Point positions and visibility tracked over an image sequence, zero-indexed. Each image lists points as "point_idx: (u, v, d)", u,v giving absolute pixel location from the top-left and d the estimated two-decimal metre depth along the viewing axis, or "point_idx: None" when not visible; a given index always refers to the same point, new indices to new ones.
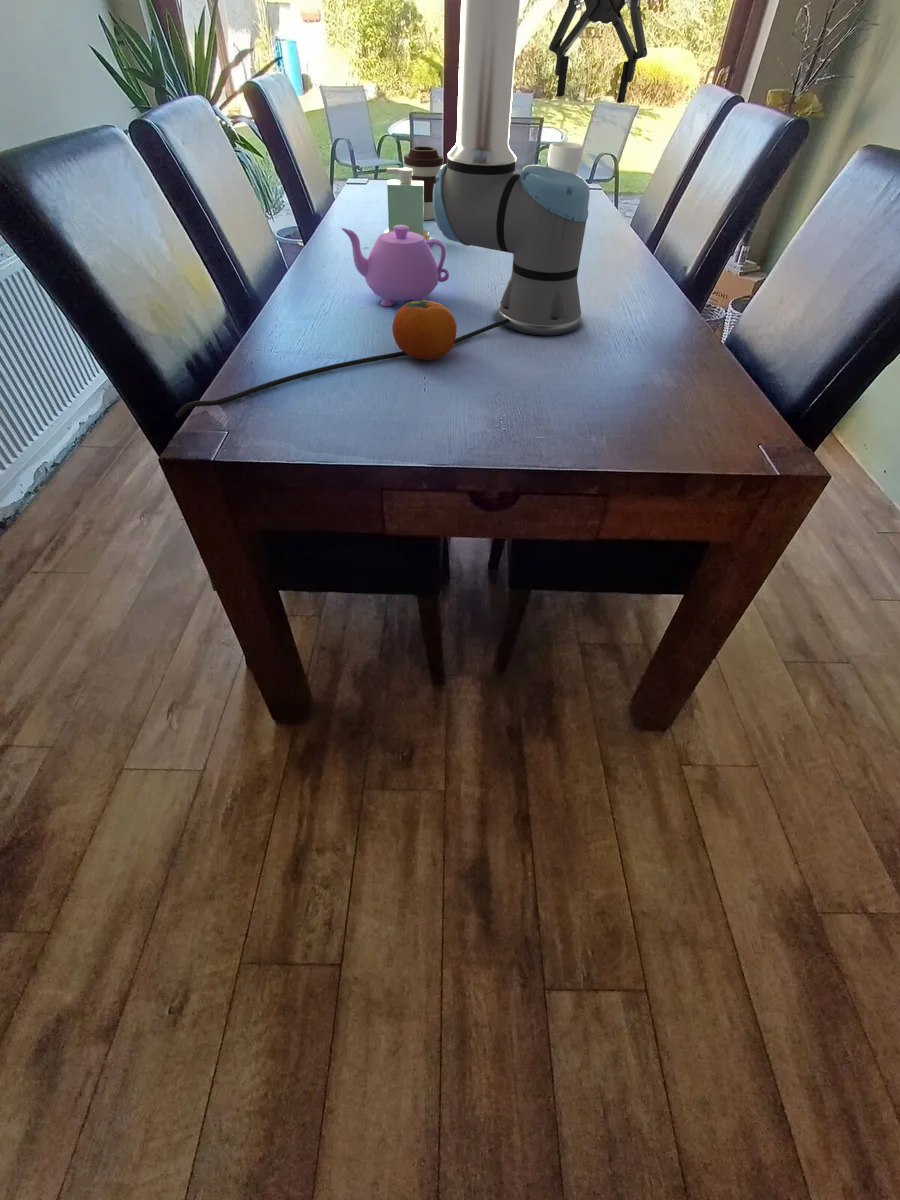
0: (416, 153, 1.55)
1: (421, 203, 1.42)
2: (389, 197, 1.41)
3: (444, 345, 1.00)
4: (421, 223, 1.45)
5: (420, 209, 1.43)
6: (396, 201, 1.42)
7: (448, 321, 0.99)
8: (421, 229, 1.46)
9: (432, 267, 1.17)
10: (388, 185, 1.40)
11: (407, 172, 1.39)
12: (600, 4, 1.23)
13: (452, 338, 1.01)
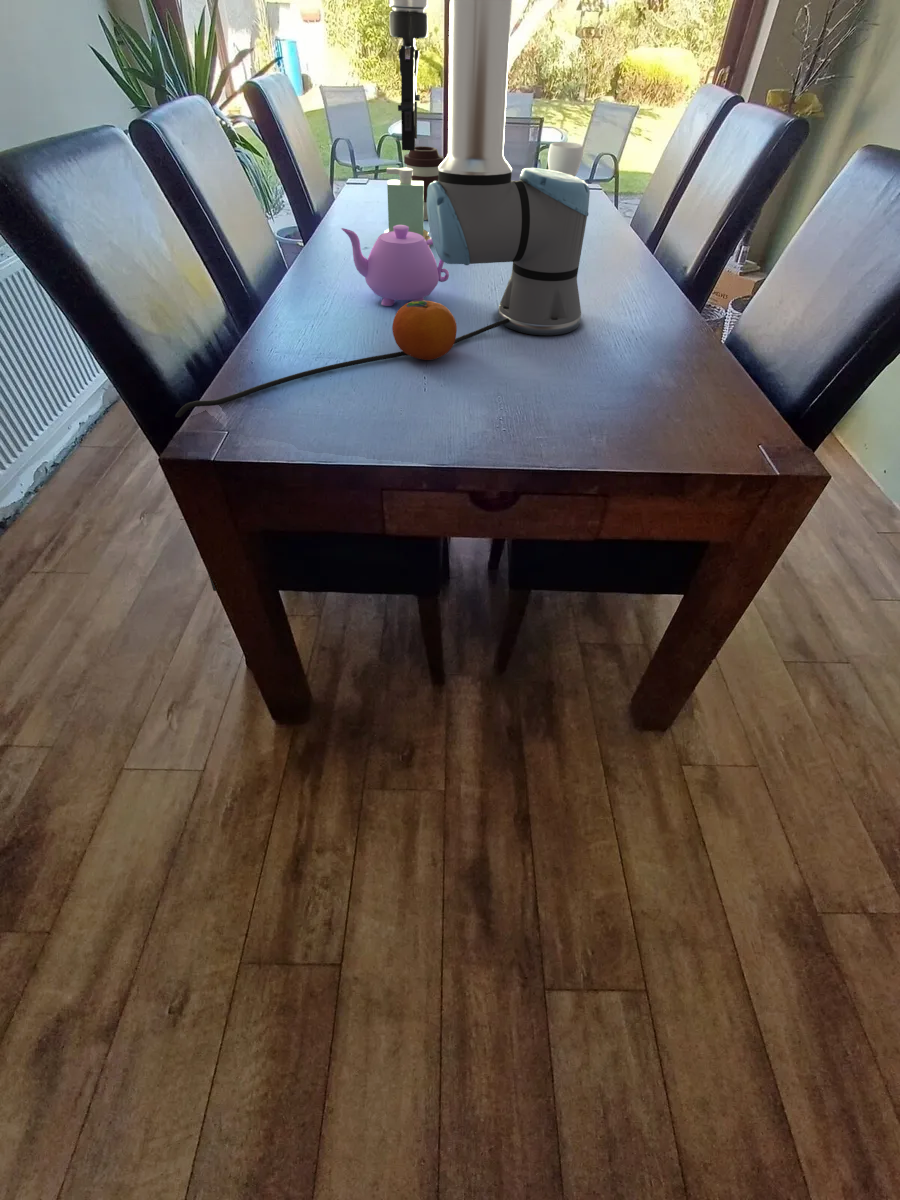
0: (416, 153, 1.55)
1: (421, 203, 1.42)
2: (389, 197, 1.41)
3: (444, 345, 1.00)
4: (421, 223, 1.45)
5: (420, 209, 1.43)
6: (396, 201, 1.42)
7: (448, 321, 0.99)
8: (421, 229, 1.46)
9: (432, 267, 1.17)
10: (388, 185, 1.40)
11: (407, 172, 1.39)
12: None
13: (452, 338, 1.01)
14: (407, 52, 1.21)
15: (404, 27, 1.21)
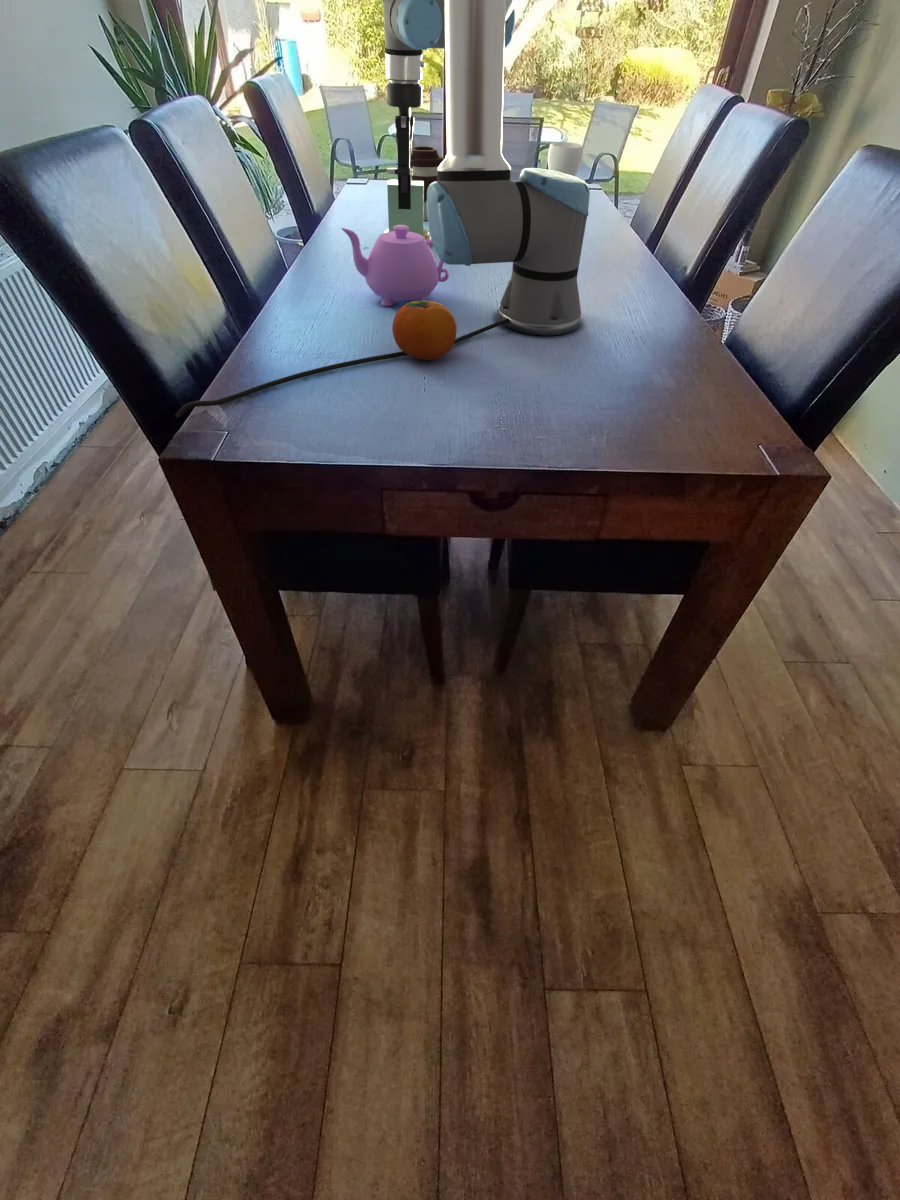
0: (416, 153, 1.55)
1: (421, 203, 1.42)
2: (389, 197, 1.41)
3: (444, 345, 1.00)
4: (421, 223, 1.45)
5: (420, 209, 1.43)
6: (396, 201, 1.42)
7: (448, 321, 0.99)
8: (421, 229, 1.46)
9: (432, 267, 1.17)
10: (388, 185, 1.40)
11: None
12: None
13: (452, 338, 1.01)
14: (403, 121, 1.28)
15: (400, 98, 1.28)
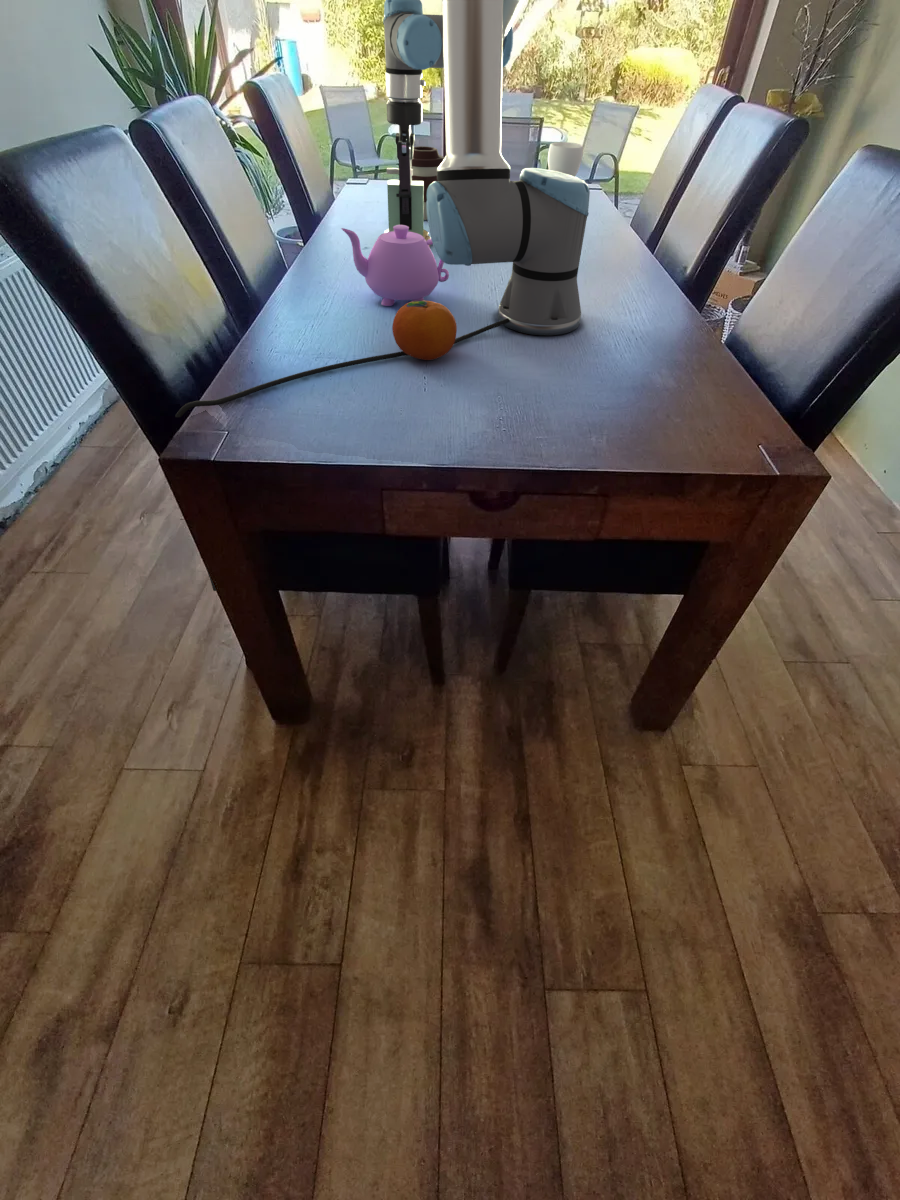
0: (416, 153, 1.55)
1: (421, 203, 1.42)
2: (389, 197, 1.41)
3: (444, 345, 1.00)
4: (421, 223, 1.45)
5: (420, 209, 1.43)
6: (396, 201, 1.42)
7: (448, 321, 0.99)
8: (421, 229, 1.46)
9: (432, 267, 1.17)
10: (388, 185, 1.40)
11: None
12: None
13: (452, 338, 1.01)
14: (403, 148, 1.32)
15: (400, 116, 1.30)
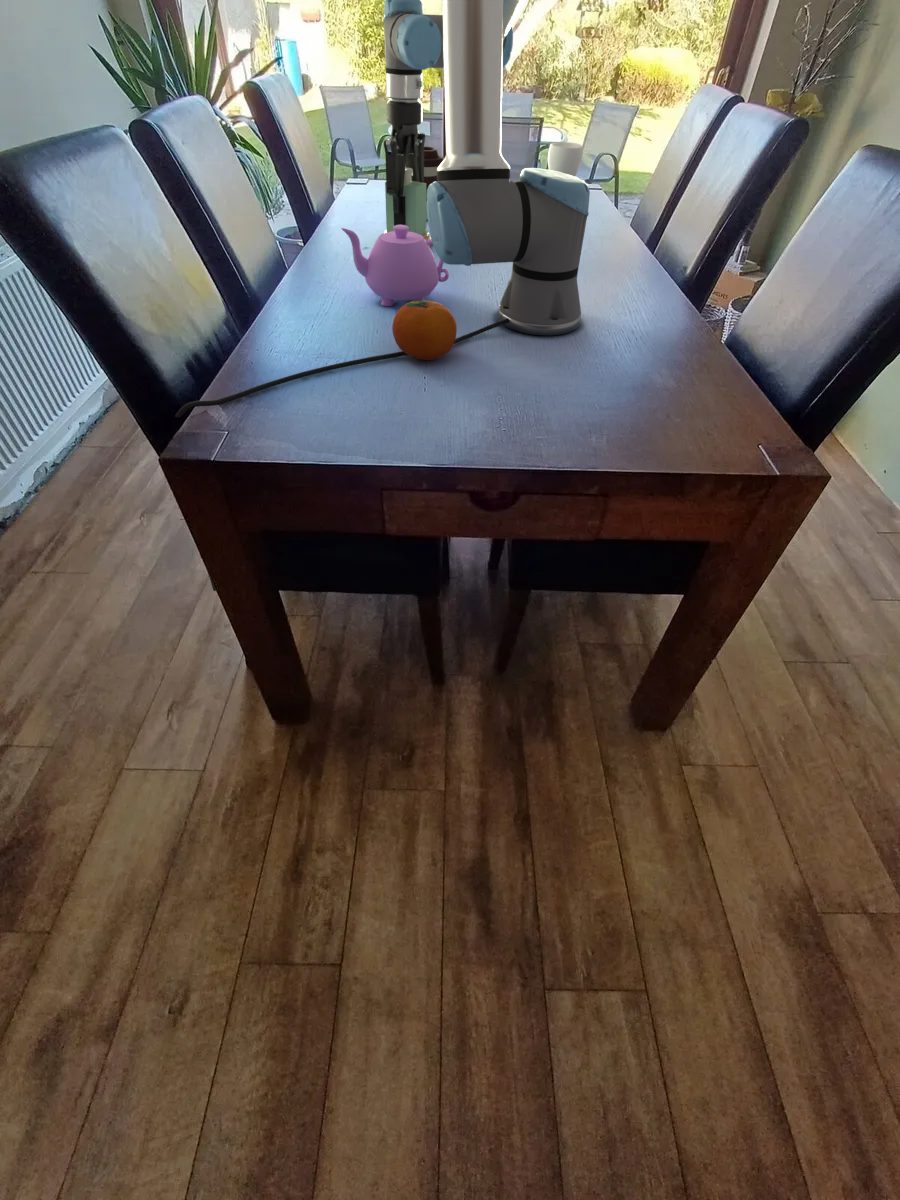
0: None
1: (414, 204, 1.41)
2: (386, 195, 1.43)
3: (444, 345, 1.00)
4: (414, 224, 1.44)
5: (413, 210, 1.42)
6: (392, 200, 1.43)
7: (448, 321, 0.99)
8: (414, 230, 1.45)
9: (432, 267, 1.17)
10: None
11: None
12: None
13: (452, 338, 1.01)
14: (388, 147, 1.32)
15: (392, 115, 1.31)
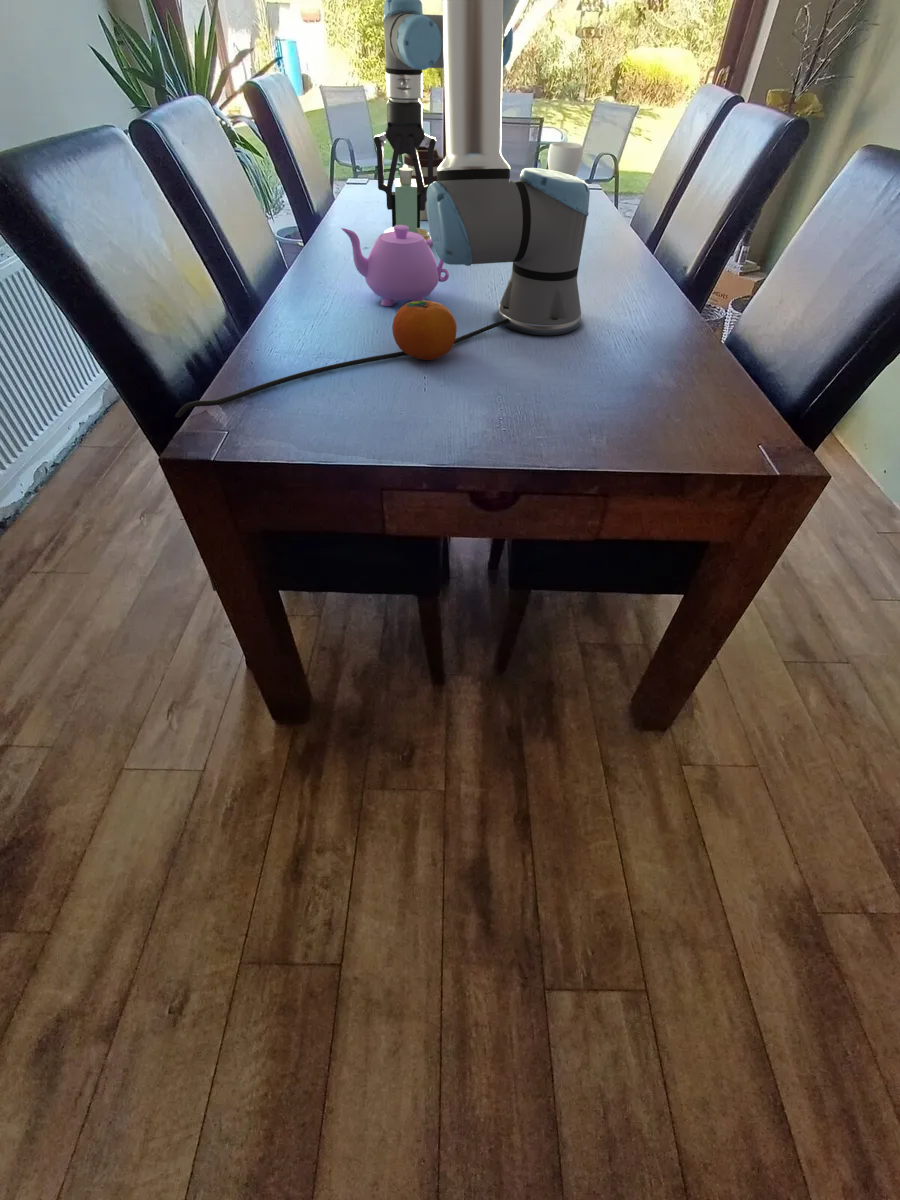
0: None
1: None
2: None
3: (444, 345, 1.00)
4: (396, 224, 1.44)
5: None
6: None
7: (448, 321, 0.99)
8: None
9: (432, 267, 1.17)
10: (395, 179, 1.44)
11: (398, 171, 1.40)
12: None
13: (452, 338, 1.01)
14: (375, 142, 1.36)
15: None
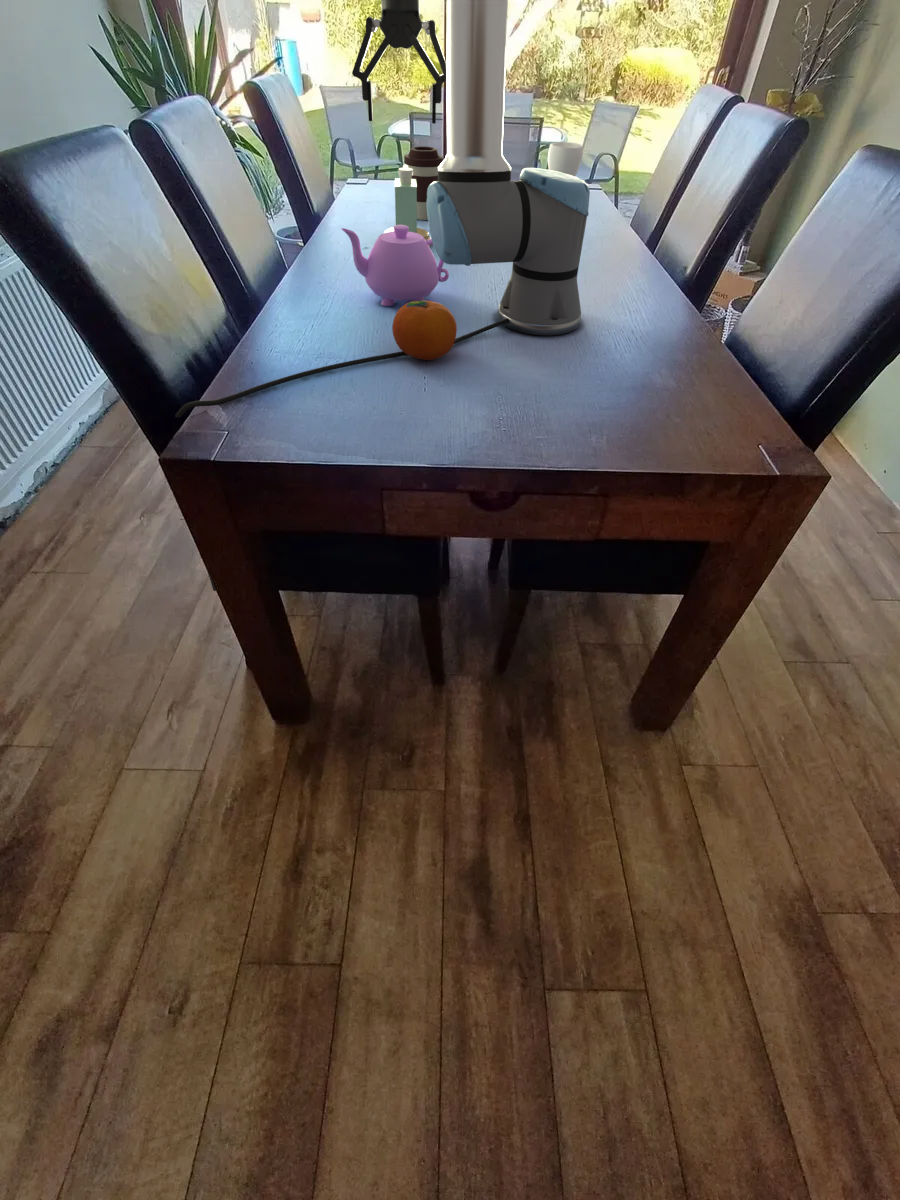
0: (416, 153, 1.55)
1: (395, 204, 1.41)
2: None
3: (444, 345, 1.00)
4: None
5: (395, 209, 1.42)
6: None
7: (448, 321, 0.99)
8: None
9: (432, 267, 1.17)
10: (395, 179, 1.44)
11: (398, 171, 1.40)
12: None
13: (452, 338, 1.01)
14: None
15: None
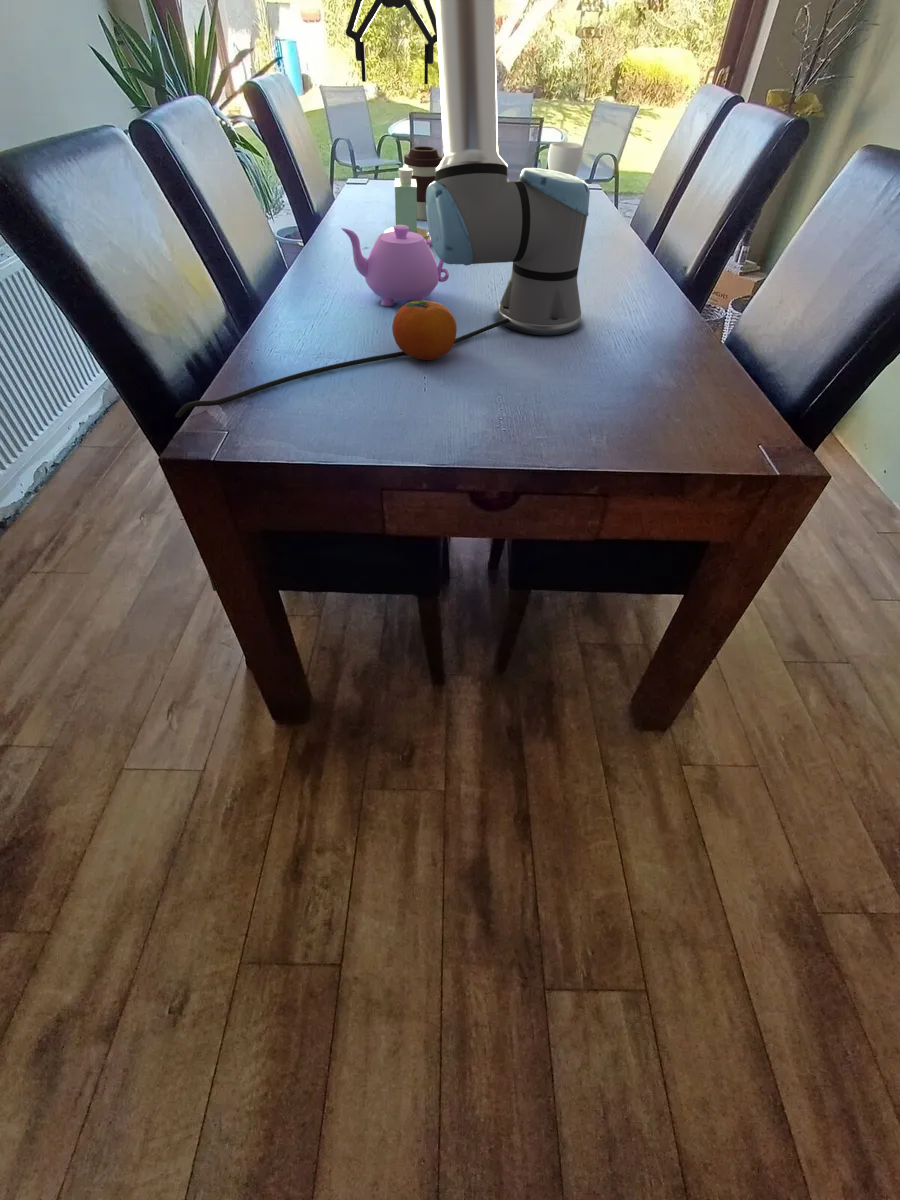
0: (416, 153, 1.55)
1: (395, 204, 1.41)
2: None
3: (444, 345, 1.00)
4: None
5: (395, 209, 1.42)
6: None
7: (448, 321, 0.99)
8: None
9: (432, 267, 1.17)
10: (395, 179, 1.44)
11: (398, 171, 1.40)
12: None
13: (452, 338, 1.01)
14: None
15: None
